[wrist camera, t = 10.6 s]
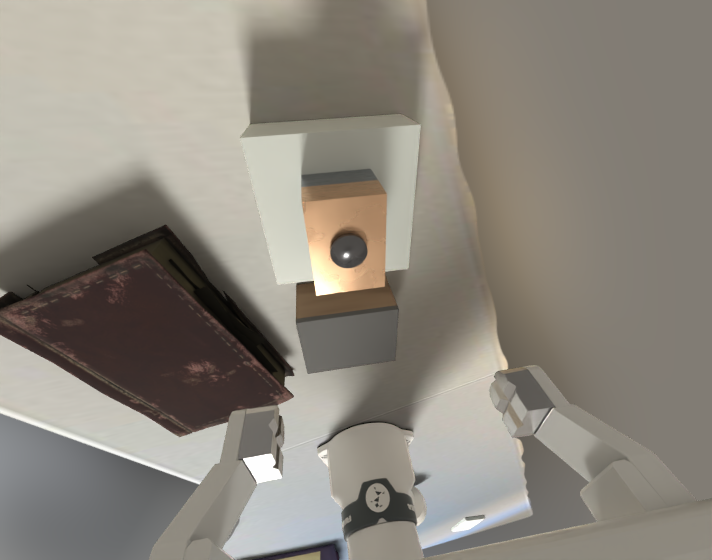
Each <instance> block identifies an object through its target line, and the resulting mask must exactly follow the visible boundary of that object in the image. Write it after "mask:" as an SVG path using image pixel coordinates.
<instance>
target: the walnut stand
mask: <svg viewBox="0 0 712 560" xmlns="http://www.w3.org/2000/svg"><path fill="white" fill-rule="evenodd" d="M398 313H399V309H398V306H397V303H396V301H395V298H394V296H393V293H392V291H391V288H390V286H389V283H388V281H387V278H386V276H385V287H378V288H371V289H363V290H355V291H348V292H340V293H332V294H325V295H316V289H315V283H306V284H298V285H296V325H297V330H298V334H299V338H300V343H301V347H302V351H303V356H304V360H305V364H306V369H307V373H308V374H310V373H317V372H323V371H330V370H336V369H343V368H349V367H356V366H362V365H369V364H375V363H382V362H388V361H395V357H396V343H397V328H398Z"/></svg>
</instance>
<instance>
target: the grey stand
mask: <svg viewBox="0 0 712 560" xmlns="http://www.w3.org/2000/svg"><path fill="white" fill-rule="evenodd" d="M420 129H421V124H419V123H417V122H415V121H413V120H411V119H410V118H408V117H406V116H404V115H402V114H390V115H375V116H361V117H346V118H332V119H317V120H303V121H289V122H274V123H260V124H250V125H249V126H248V128H247V129H246V130H245V132H244V133H243V134H242V136H241V137H240V141H241V145H242V149H243V153H244V157H245V161H246V165H247V168H248V172H249V176H250V180H251V184H252V188H253V192H254V196H255V200H256V204H257V207H258V211H259V215H260V219H261V223H262V227H263V231H264V235H265V239H266V242H267V246H268V250H269V254H270V258H271V262H272V266H273V270H274V274H275V278H276V281H277V285H281V284H290V283H298V282H306V281H314V276H313V270H312V264H311V258H310V252H309V245H308V239H307V233H306V227H305V221H304V214H303V208H302V200H301V175H306V174H317V173H328V172H339V171H350V170H361V169H371V170H372V171H373V173H374V174H375V176H376V178H377V179H378V181H379V182H380V184H381V185H382V187H383V188H384V190H385V191H386V193H387V217H386V260H385V272H387V271H395V270H404V269H409V258H410V246H411V234H412V223H413V211H414V199H415V188H416V176H417V164H418V153H419V141H420Z"/></svg>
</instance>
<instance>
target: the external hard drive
mask: <svg viewBox="0 0 712 560" xmlns="http://www.w3.org/2000/svg"><path fill="white" fill-rule="evenodd" d="M483 519H485V516H484V515H482V516H474V517H466V518H464V519H463V520H461V521H460V522H459V523H458V524H456V525H455V526H454V527H452V528H451V531H452V532H455V531H462V530H469V529H471V528H472V527H473V526H475V525H476V524H478V523H479V522H481V521H482V520H483Z"/></svg>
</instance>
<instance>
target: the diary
mask: <svg viewBox="0 0 712 560" xmlns="http://www.w3.org/2000/svg"><path fill="white" fill-rule="evenodd" d="M92 258H93V259H94V260H95V261H96V262H97V263H98V264H99V265H98V266H96V267H93V268H91V269H89V270H86V271H84V272H82V273H79V274H77V275H75V276H72V277H70V278H68V279H65V280H63V281H60V282H58V283H56V284H53V285H51V286H49V287H46V288H45V289H43V290H42V291H41V292H39V291H36V290H34V289H33V288H31V287H30V286H29V285H27V286H29V287H30V288H31V289H33V290H34V291H36V292H35V293H33V294H31V295H30V296H28V297H27V298H25V299H24V300H23V299H22V298H20V297H19V296H17V295H16V294H14V293H13V292H8V293H7V294H5V295H4V296H2V297H1V298H0V335H2V336H3V337H5V338H7V339H9V340H11V341H13V342H15V343H17V344H19V345H20V346H22V347H24V348H26V349H28V350H30V351H32V352H34V353H35V354H37V355H39V356H41V357H43V358H45V359H47V360H49V361H51V362H52V363H54V364H56V365H57V366H59V367H61V368H62V369H64V370H65V371H67V372H69V373H70V374H72V375H74V376H75V377H77V378H79V379H80V380H82V381H83V382H85V383H87V384H88V385H90V386H92V387H93V388H95V389H96V390H98V391H100V392H101V393H103V394H105V395H107V396H109V397H110V398H112V399H114V400H116V401H118V402H120V403H122V404H124V405H126V406H128V407H130V408H132V409H134V410H136V411H138V412H140V413H142V414H144V415H145V416H147V417H149V418H150V419H152V420H153V421H155V422H156V423H158V424H160V425H161V426H163V427H164V428H166V429H167V430H169V431H170V432H172V433H174V434H175V435H177V436H179V437H181V436H184V435H187V434H190V433H192V432H196V431H199V430H202V429H205V428H208V427H212V426H215V425H219V424H223V423H226V422H229V417H230V415H231V413H232V411H237V410H243V409H251V408H258V407H264V406H271V405H278V404H281V403H283V402H286V401H288V400H290V399H291V398H293V397H294V396H293V394H292V393H291V392H290V391H289V390H288V389H287V388H286V387H284V382H285V377H286V376H294V373H293V371H292V369H291V368H290V367H289V365H288V364H287V363H286V362H285V360H284V359H283V358H282V357H281V356H280V354H279V353H278V352H277V351H276V350H275V348H274V347H273V346H272V345H271V344H270V343H269V342H268V341H267V339H266V338H265V337H264V336H263V335H262V334H261V333H260V332H259V331H258V330H257V329H256V327H255V326H254V325H253V324H252V323H251V322H250V321H249V320H248V319H247V318H246V317H245V315H244V314H243V313H242V311H241V310H240V309H239V308H238V306H237V305H236V304H235V303H234V302H233V300H232V299H231V298H230V297H229V296H228V295H227V294H226V293H225V292H224V291H223V292H224V294H225V296H226V299H227V300H226V299H225V298H224V297H223V296H222V295H221V294H220V293H219V291H218V290H217V289H216V288H215V287H214V286H213V285H212V284H211V283H210V282H209V280H208V279H207V277H206V276H205V274H204V273H203V271H202V270H201V268H200V267H199V265H198V263H197V262H196V260H195V259H194V257H193V256H192V254H191V253H190V252H189V251H188V250H187V249H186V247H185V246H184V245H183V244H182V243H181V241H180V240H179V239H178V238H177V237H176V236H175V234H174V233H173V232H172V231H171V230H170V229H169V227H168V226H167V225H164V226H162V227H159V228H157V229H155V230H153V231H150V232H148V233H146V234H144V235H141V236H139V237H137V238H135V239H132V240H130V241H128V242H125V243H123V244H121V245H119V246H116V247H114V248H112V249H110V250H107V251H105V252H103V253H101V254H98V255H96V256H94V257H92Z"/></svg>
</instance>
